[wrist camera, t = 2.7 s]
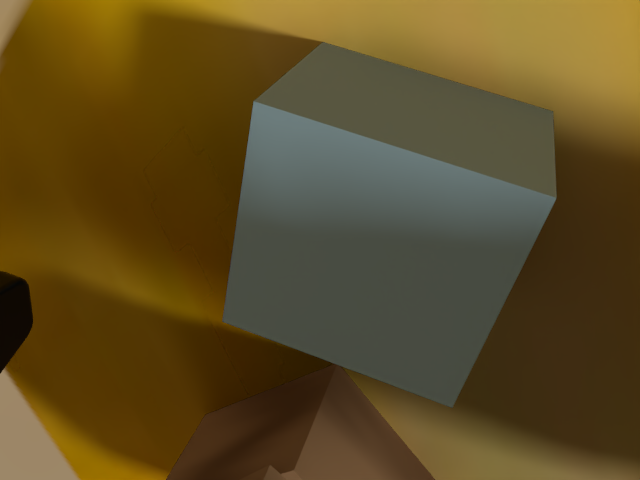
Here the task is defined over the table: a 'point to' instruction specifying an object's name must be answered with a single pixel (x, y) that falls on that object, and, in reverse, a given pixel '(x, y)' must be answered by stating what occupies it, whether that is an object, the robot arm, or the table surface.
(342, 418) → the tower base
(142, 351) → the table surface
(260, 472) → the tower mid
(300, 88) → the slate block
